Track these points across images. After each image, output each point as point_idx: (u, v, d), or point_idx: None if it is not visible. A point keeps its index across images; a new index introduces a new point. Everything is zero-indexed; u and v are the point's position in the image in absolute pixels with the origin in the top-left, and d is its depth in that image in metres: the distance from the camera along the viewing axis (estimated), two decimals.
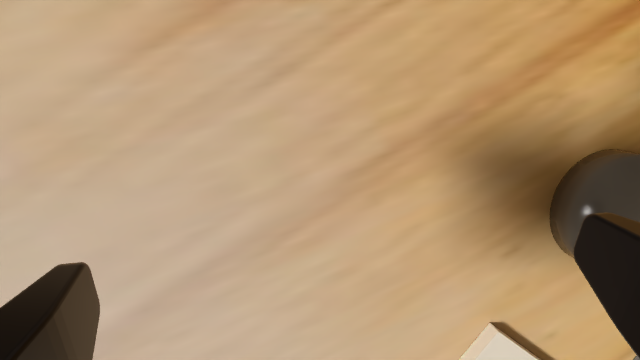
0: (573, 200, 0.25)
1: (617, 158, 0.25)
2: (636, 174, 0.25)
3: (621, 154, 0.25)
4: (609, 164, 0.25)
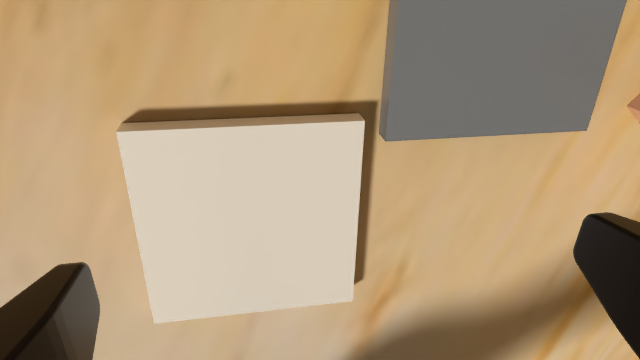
0: None
1: None
2: None
3: None
4: None
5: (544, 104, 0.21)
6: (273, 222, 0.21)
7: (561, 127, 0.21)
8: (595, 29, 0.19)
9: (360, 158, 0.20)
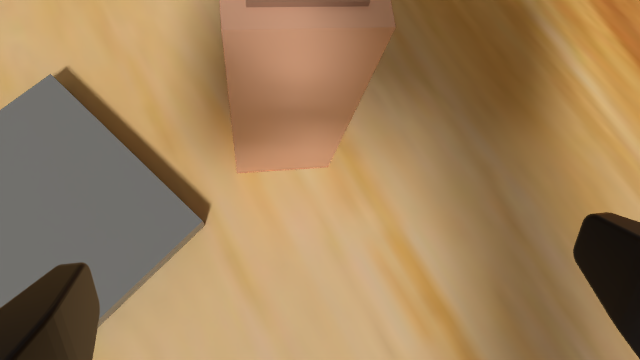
0: None
1: None
2: None
3: None
4: None
5: (133, 241, 0.20)
6: None
7: (174, 240, 0.20)
8: (111, 167, 0.20)
9: None
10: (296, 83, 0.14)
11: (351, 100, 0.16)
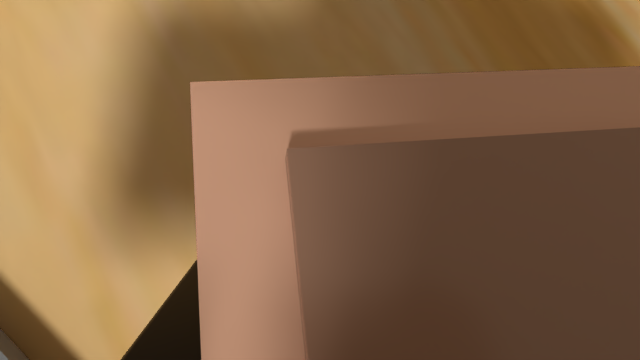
0: None
1: None
2: None
3: None
4: None
5: None
6: None
7: None
8: None
9: None
10: None
11: None
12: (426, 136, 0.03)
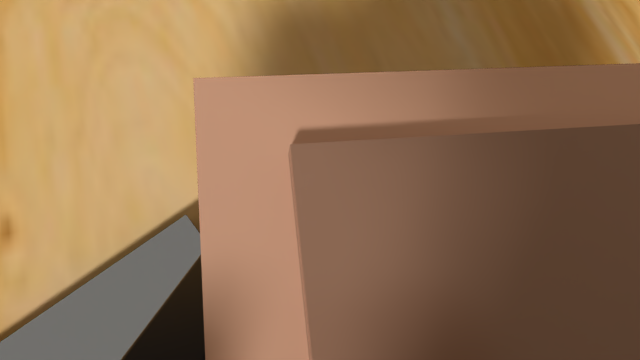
0: None
1: None
2: None
3: None
4: None
5: None
6: None
7: None
8: None
9: None
10: None
11: None
12: (428, 132, 0.03)
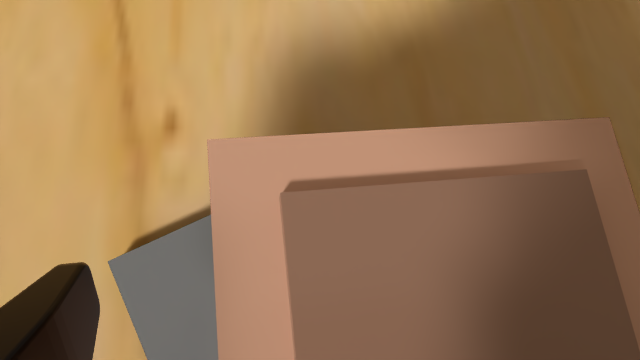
0: None
1: None
2: None
3: None
4: None
5: None
6: None
7: None
8: None
9: None
10: None
11: None
12: (387, 180, 0.05)
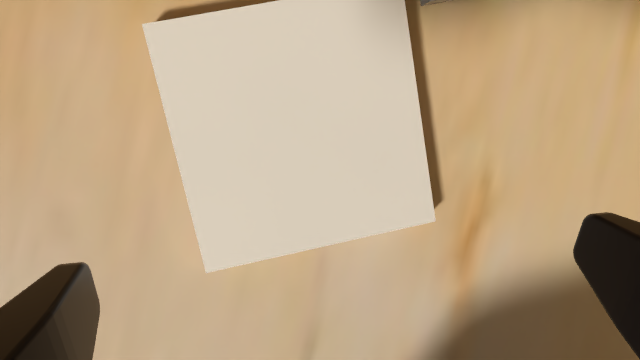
0: None
1: None
2: None
3: None
4: None
5: None
6: (322, 118, 0.18)
7: None
8: None
9: (406, 25, 0.18)
10: None
11: None
12: None
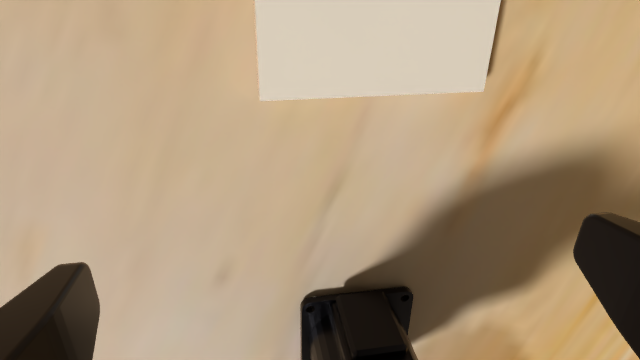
0: None
1: None
2: None
3: None
4: None
5: None
6: None
7: None
8: None
9: None
10: None
11: None
12: None
